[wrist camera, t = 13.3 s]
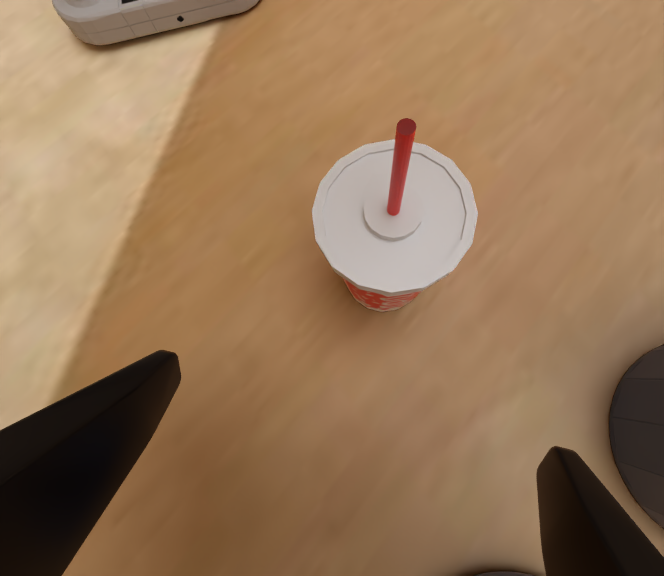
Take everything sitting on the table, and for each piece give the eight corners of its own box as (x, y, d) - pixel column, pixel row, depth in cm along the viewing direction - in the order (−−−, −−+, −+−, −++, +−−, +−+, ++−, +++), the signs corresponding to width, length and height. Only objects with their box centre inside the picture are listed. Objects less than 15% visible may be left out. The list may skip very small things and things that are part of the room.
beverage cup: (329, 322, 23) (272, 242, 9) (335, 225, 24) (293, 27, 10) (435, 327, 22) (546, 249, 8) (435, 227, 23) (530, 19, 10)
